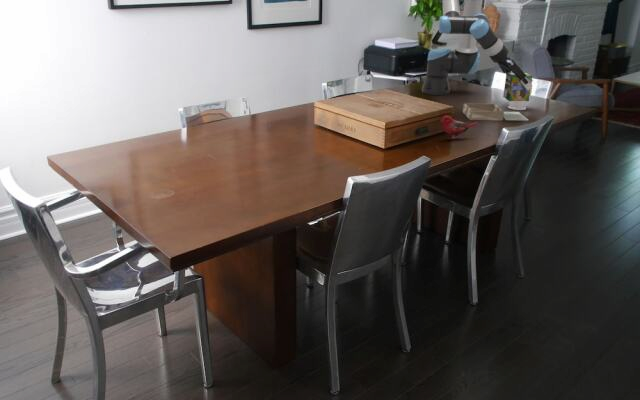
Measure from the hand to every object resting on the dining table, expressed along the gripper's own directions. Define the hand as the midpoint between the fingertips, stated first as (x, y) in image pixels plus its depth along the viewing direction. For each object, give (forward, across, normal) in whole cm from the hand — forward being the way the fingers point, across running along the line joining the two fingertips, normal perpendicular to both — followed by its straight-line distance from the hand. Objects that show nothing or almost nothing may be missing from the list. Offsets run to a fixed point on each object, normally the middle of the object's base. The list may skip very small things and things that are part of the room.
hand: (523, 85), depth 238 cm
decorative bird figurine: (-19, +29, -40) cm, 53 cm away
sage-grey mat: (+8, -1, -12) cm, 15 cm away
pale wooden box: (-2, -3, -22) cm, 22 cm away
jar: (+15, -15, -5) cm, 22 cm away
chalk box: (+2, 0, -7) cm, 7 cm away
